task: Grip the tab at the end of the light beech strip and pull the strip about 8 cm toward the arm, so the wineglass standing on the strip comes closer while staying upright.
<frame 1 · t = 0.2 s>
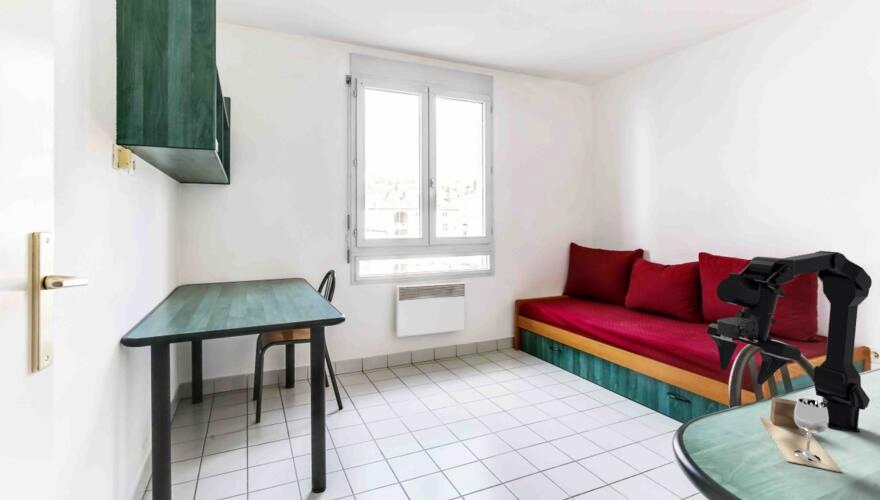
hand: (740, 376, 99), 15 cm above the table, tool pointing down, fingers open, 9 cm apart
wineglass: (807, 457, 94), resting on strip
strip: (797, 429, 100), point 3 cm above the table, slide at 0.0 cm, touching wineglass
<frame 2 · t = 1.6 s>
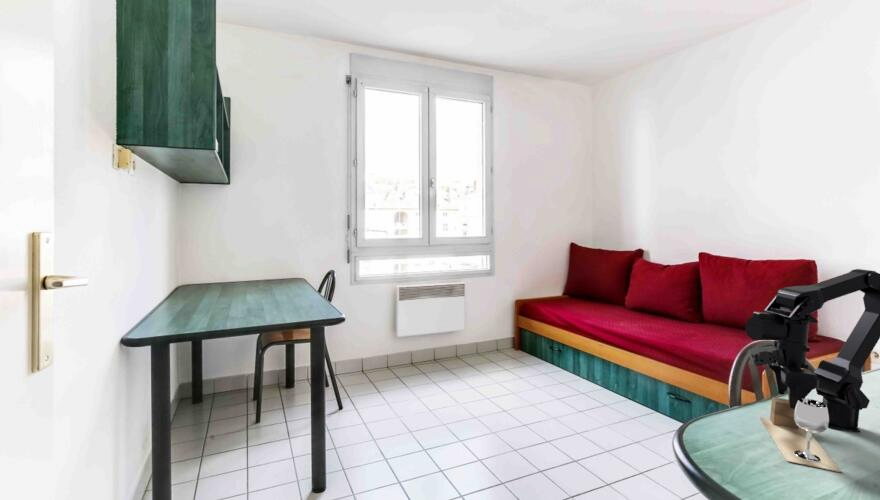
hand: (786, 400, 108), 6 cm above the table, tool pointing down, fingers open, 9 cm apart
nothing on the table moved.
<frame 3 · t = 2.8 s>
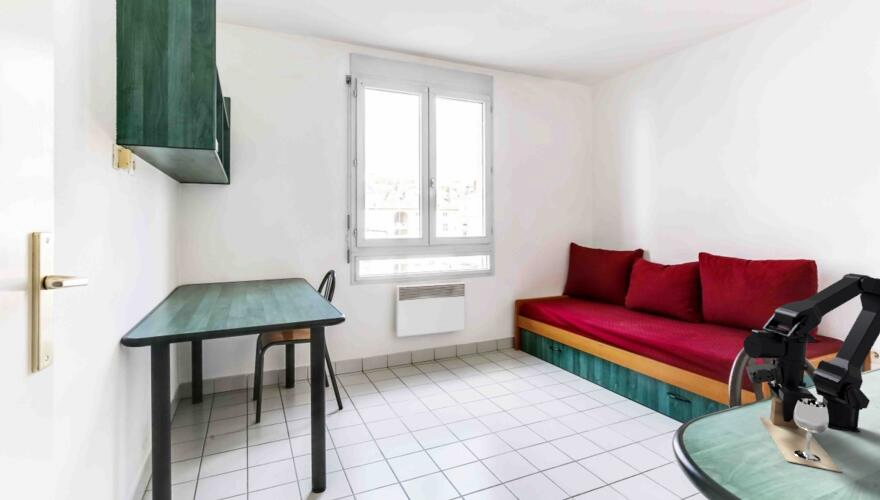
hand: (784, 418, 108), 2 cm above the table, tool pointing down, fingers closed on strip, 3 cm apart
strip: (797, 429, 100), point 3 cm above the table, slide at 0.0 cm, touching gripper, wineglass
everything else where it was.
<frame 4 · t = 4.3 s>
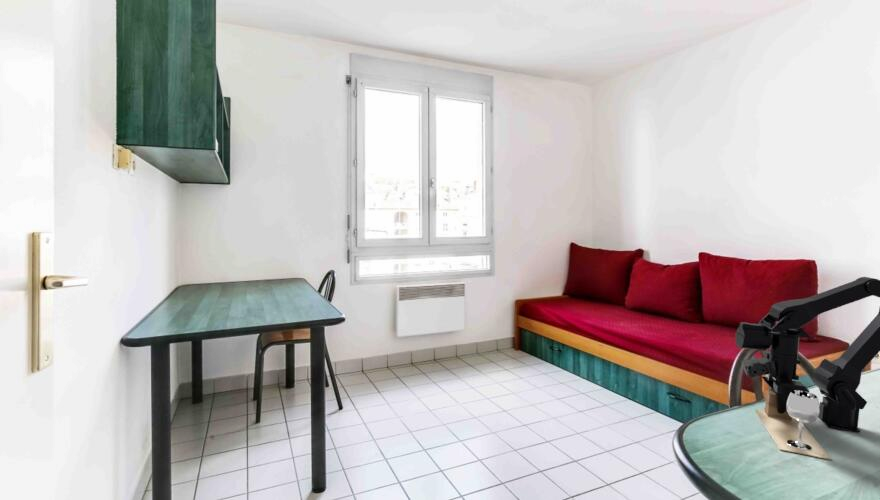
hand: (778, 410, 113), 2 cm above the table, tool pointing down, fingers closed on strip, 3 cm apart
wineglass: (798, 446, 98), resting on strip
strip: (790, 420, 105), point 3 cm above the table, slide at 5.1 cm, touching gripper, wineglass
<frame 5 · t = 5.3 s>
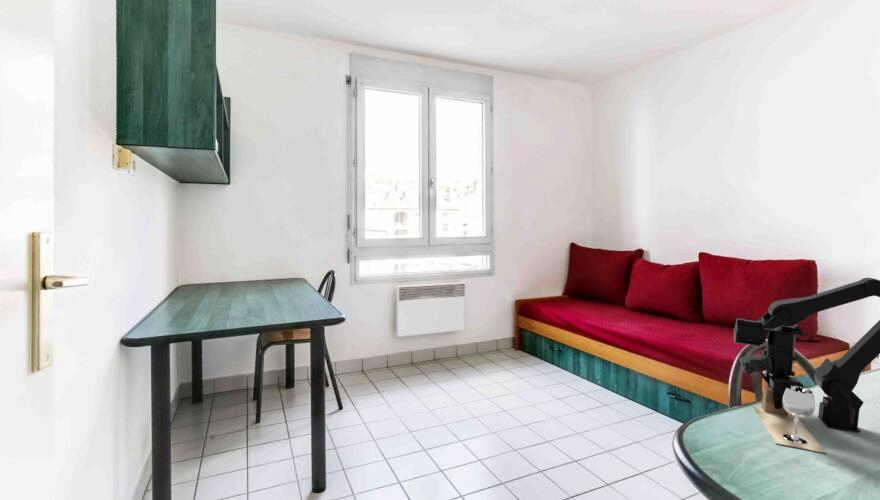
hand: (775, 406, 115), 2 cm above the table, tool pointing down, fingers closed on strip, 3 cm apart
wineglass: (794, 440, 101), resting on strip
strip: (786, 415, 107), point 3 cm above the table, slide at 7.9 cm, touching gripper, wineglass
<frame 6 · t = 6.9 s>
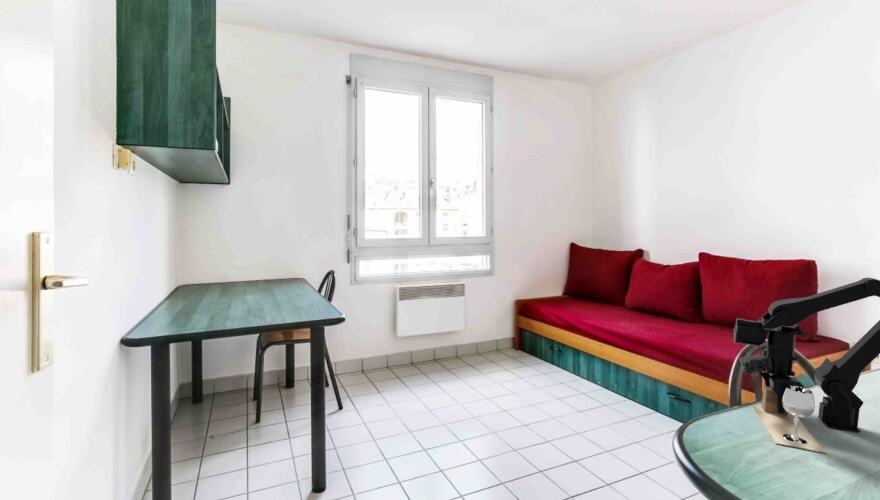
hand: (775, 406, 115), 2 cm above the table, tool pointing down, fingers open, 9 cm apart
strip: (786, 415, 107), point 3 cm above the table, slide at 8.0 cm, touching wineglass
everything else where it was.
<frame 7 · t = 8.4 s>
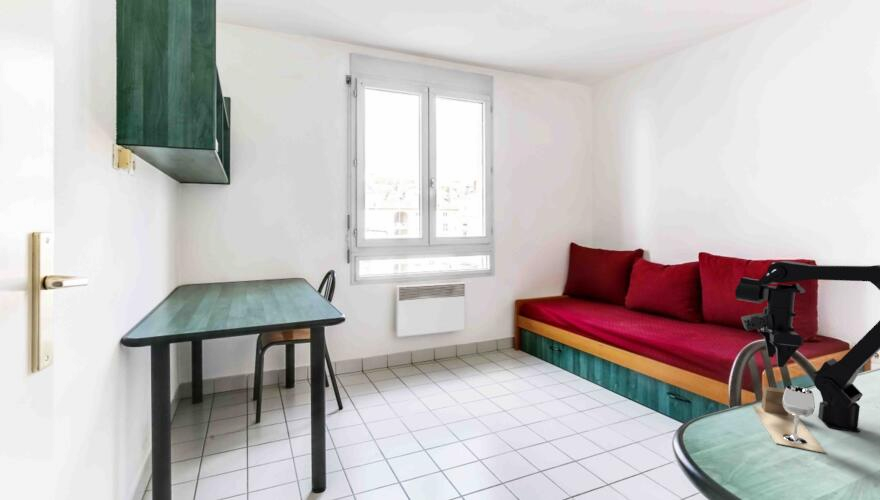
hand: (775, 361, 121), 12 cm above the table, tool pointing down, fingers open, 9 cm apart
nothing on the table moved.
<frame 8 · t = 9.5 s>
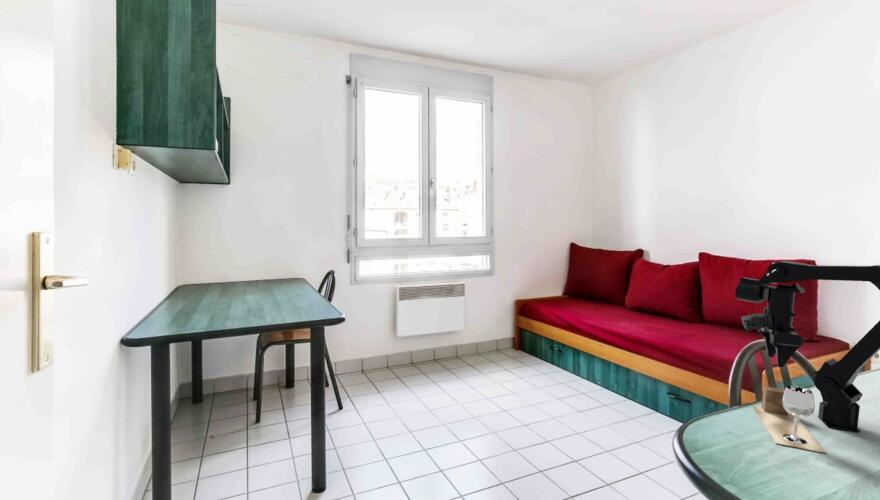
hand: (775, 361, 121), 12 cm above the table, tool pointing down, fingers open, 9 cm apart
nothing on the table moved.
at the end: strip slide at 8.0 cm; wineglass inside the target area (0.5 cm from its centre), resting on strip; wineglass tilted 0° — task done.
